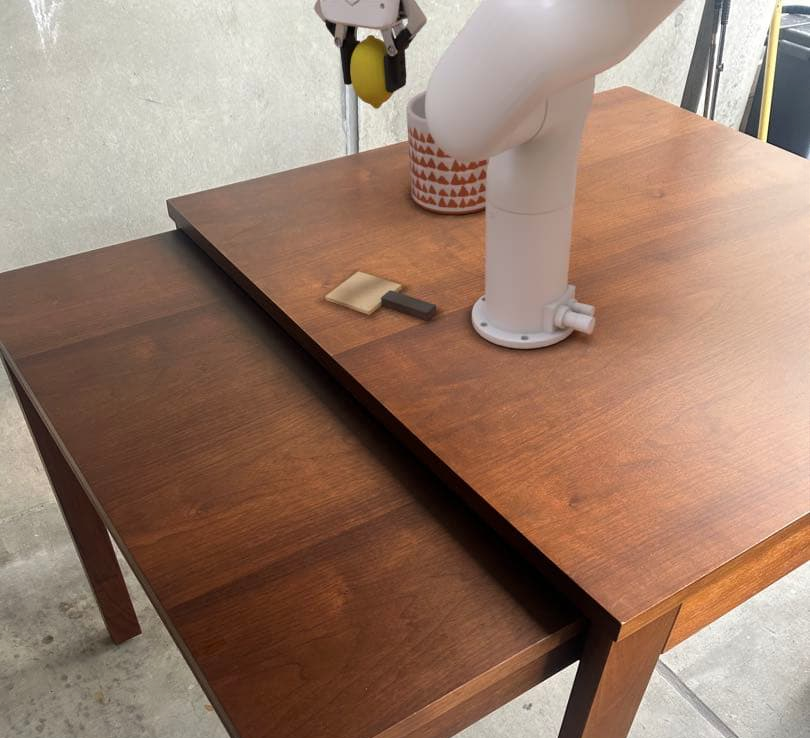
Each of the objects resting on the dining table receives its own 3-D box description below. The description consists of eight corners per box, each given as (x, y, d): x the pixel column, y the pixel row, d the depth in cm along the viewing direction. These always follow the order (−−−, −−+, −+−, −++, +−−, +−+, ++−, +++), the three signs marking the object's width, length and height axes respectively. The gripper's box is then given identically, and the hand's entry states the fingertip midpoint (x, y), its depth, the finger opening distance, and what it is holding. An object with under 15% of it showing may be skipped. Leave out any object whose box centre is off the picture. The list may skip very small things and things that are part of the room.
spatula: (447, 303, 107) (447, 295, 106) (415, 331, 104) (415, 322, 103) (358, 274, 113) (357, 266, 112) (325, 300, 110) (324, 291, 109)
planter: (490, 220, 121) (492, 127, 112) (398, 211, 125) (392, 119, 115) (514, 177, 130) (517, 87, 121) (427, 169, 133) (424, 81, 124)
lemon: (394, 117, 103) (388, 43, 97) (349, 117, 104) (341, 43, 98) (403, 99, 106) (398, 27, 100) (360, 99, 107) (353, 27, 101)
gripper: (273, -97, 92) (300, 85, 105) (404, -88, 84) (416, 107, 97) (317, -113, 96) (338, 65, 109) (447, -105, 88) (452, 85, 101)
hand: (374, 83), depth 103 cm, fingers closed on lemon, 5 cm apart
